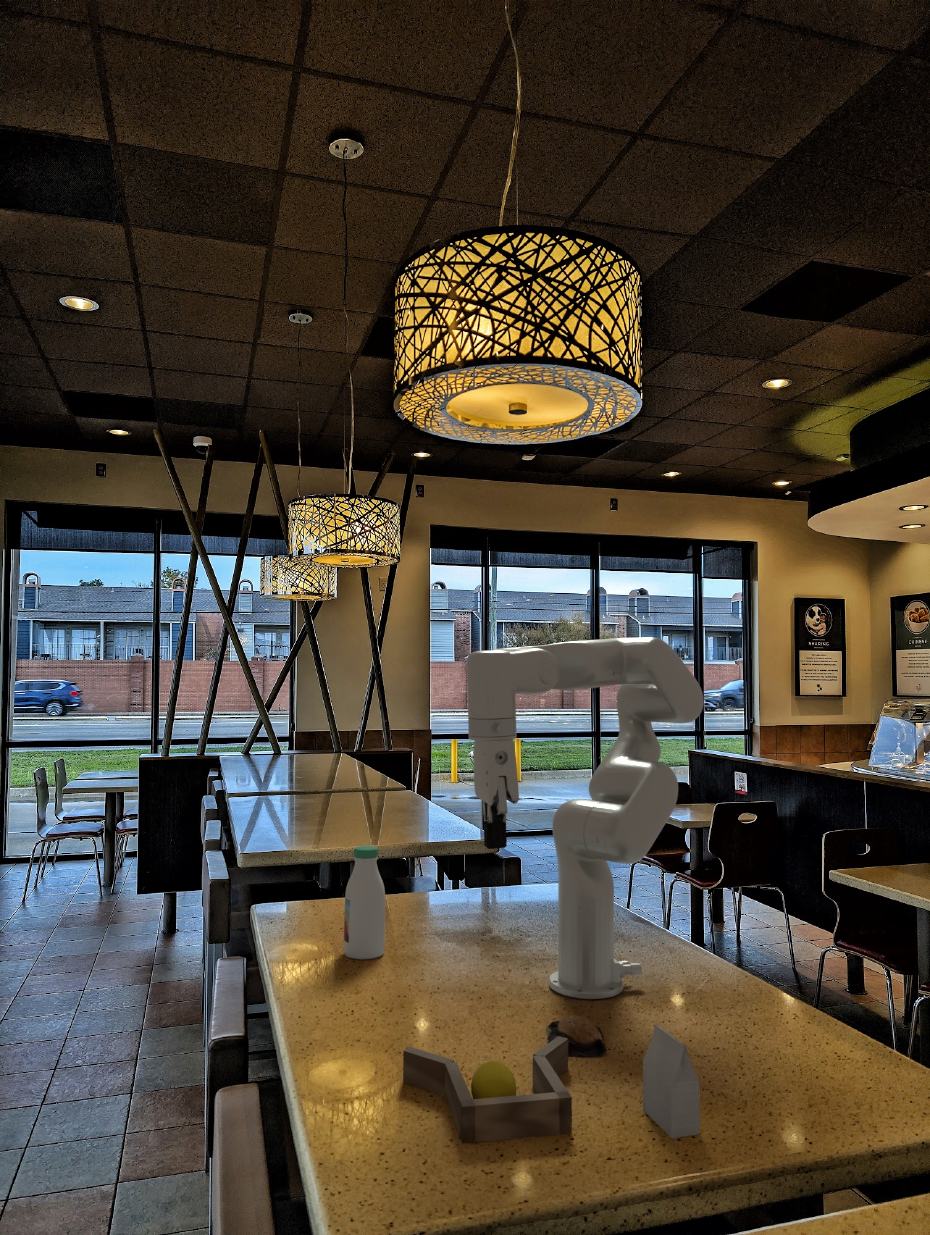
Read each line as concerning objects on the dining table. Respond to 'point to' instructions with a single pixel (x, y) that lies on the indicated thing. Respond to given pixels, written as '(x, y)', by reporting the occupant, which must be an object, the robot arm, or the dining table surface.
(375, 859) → the milk bottle
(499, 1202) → the dining table surface
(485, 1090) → the lemon
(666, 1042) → the grey block
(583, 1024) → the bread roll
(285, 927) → the dining table surface
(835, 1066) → the dining table surface
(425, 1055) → the corral
